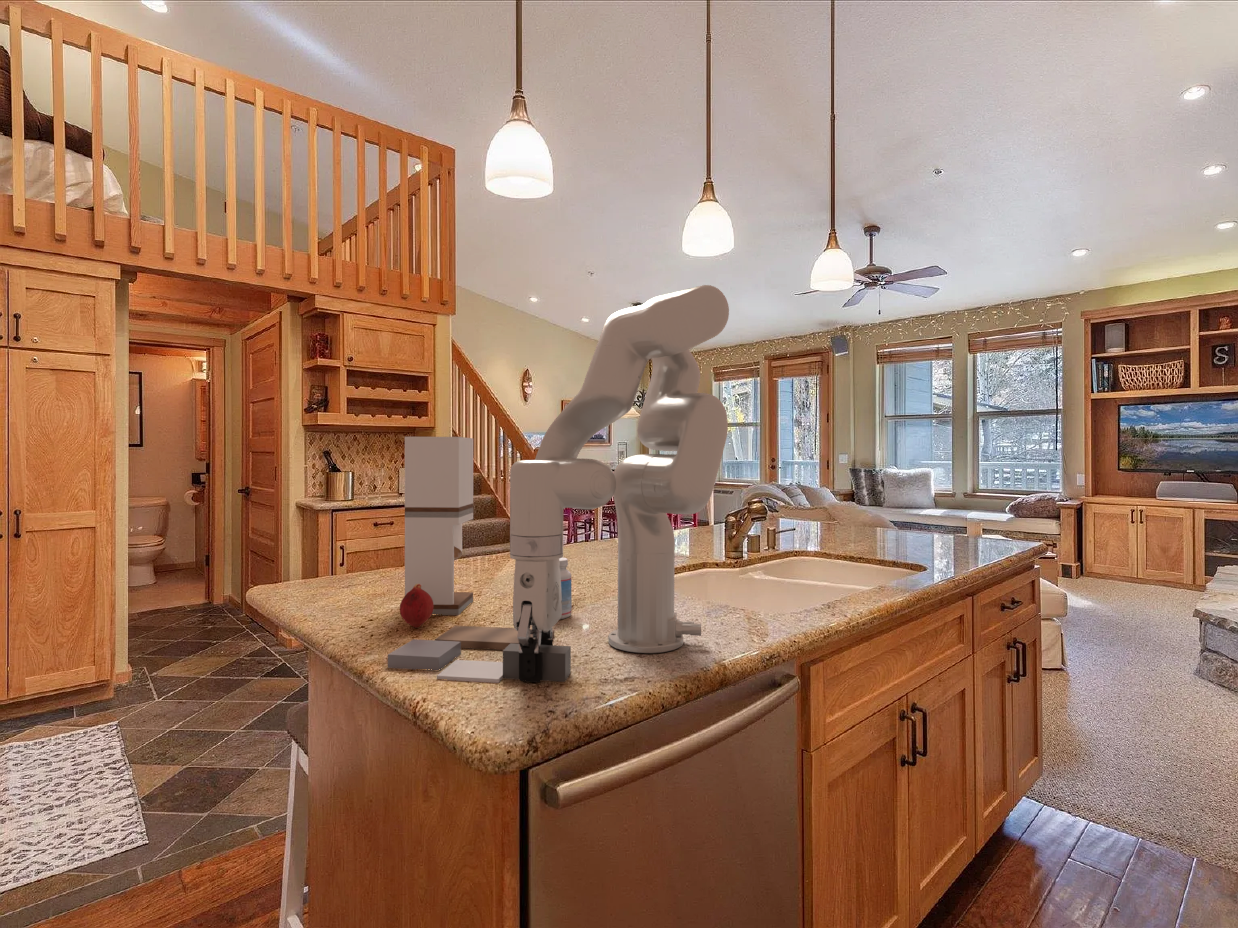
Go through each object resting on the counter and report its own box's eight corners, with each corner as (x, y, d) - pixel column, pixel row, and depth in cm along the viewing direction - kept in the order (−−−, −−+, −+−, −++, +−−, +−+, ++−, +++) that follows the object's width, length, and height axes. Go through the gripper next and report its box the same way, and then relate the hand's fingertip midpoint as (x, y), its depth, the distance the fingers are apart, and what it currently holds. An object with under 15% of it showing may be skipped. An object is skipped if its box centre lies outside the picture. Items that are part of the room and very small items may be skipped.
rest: (554, 636, 110) (554, 629, 110) (541, 651, 101) (541, 644, 101) (455, 632, 112) (455, 625, 112) (434, 646, 104) (434, 639, 104)
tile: (460, 641, 100) (438, 657, 92) (460, 656, 100) (438, 672, 92) (413, 639, 101) (387, 654, 93) (413, 653, 101) (387, 669, 93)
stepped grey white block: (573, 669, 93) (573, 642, 93) (562, 686, 86) (562, 657, 86) (456, 663, 96) (456, 637, 96) (436, 679, 89) (436, 651, 89)
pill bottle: (577, 615, 125) (577, 558, 124) (558, 621, 119) (558, 562, 119) (553, 610, 128) (553, 555, 128) (533, 617, 123) (533, 559, 123)
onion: (423, 633, 111) (423, 587, 111) (393, 631, 113) (393, 586, 112) (439, 624, 117) (439, 581, 117) (410, 622, 118) (410, 580, 118)
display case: (458, 615, 124) (458, 436, 124) (404, 614, 124) (404, 436, 124) (473, 601, 136) (473, 438, 135) (423, 601, 136) (423, 438, 135)
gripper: (547, 556, 81) (547, 697, 81) (574, 539, 98) (574, 656, 98) (491, 555, 82) (491, 694, 82) (527, 538, 99) (527, 653, 99)
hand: (536, 672), depth 90 cm, fingers open, 5 cm apart
